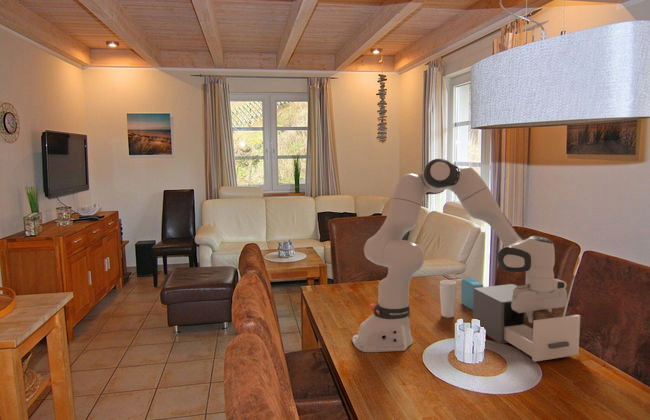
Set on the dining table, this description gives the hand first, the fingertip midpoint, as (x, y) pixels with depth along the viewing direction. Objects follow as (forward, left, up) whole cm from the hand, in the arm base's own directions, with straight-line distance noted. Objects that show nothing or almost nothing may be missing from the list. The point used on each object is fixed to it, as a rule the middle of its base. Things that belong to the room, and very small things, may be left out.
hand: (538, 321), depth 159 cm
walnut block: (0, 0, -3) cm, 3 cm away
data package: (+3, +46, -11) cm, 47 cm away
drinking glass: (-13, +39, -11) cm, 42 cm away
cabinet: (0, +17, -10) cm, 20 cm away
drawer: (0, -1, -9) cm, 9 cm away
